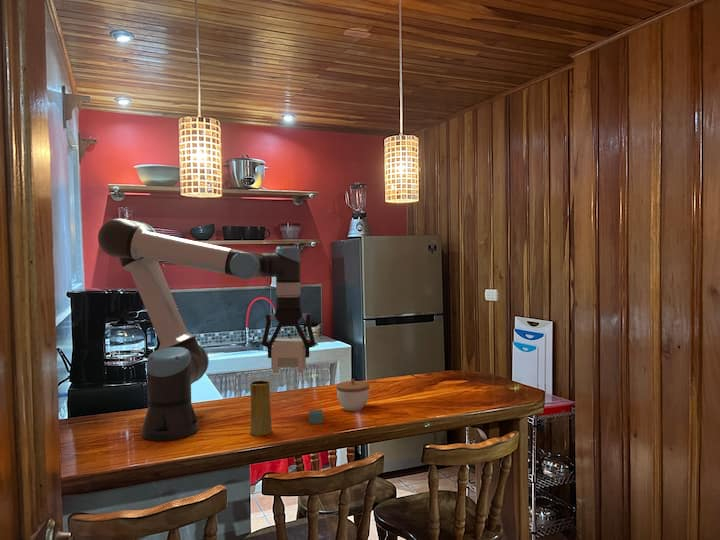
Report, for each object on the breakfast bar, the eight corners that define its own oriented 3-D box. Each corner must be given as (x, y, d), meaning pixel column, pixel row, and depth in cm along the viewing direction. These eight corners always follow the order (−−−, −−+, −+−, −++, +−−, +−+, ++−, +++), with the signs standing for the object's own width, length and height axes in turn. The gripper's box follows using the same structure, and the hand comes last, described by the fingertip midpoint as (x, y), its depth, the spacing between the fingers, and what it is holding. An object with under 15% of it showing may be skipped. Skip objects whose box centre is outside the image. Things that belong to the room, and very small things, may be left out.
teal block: (308, 420, 157) (308, 410, 157) (322, 419, 157) (321, 409, 157) (309, 424, 153) (309, 414, 153) (322, 423, 153) (322, 413, 153)
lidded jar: (366, 413, 162) (365, 384, 162) (333, 412, 164) (332, 383, 164) (372, 404, 172) (371, 376, 172) (341, 403, 174) (340, 375, 174)
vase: (246, 435, 143) (245, 384, 143) (254, 428, 149) (253, 379, 149) (268, 436, 142) (267, 385, 142) (274, 429, 148) (273, 380, 148)
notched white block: (275, 366, 165) (275, 338, 165) (303, 366, 165) (303, 338, 165) (272, 373, 156) (272, 343, 156) (302, 372, 156) (302, 342, 156)
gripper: (323, 295, 165) (323, 365, 165) (254, 295, 163) (255, 366, 163) (323, 296, 157) (323, 370, 157) (251, 297, 156) (251, 371, 156)
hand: (288, 368), depth 160 cm, fingers closed on notched white block, 9 cm apart
